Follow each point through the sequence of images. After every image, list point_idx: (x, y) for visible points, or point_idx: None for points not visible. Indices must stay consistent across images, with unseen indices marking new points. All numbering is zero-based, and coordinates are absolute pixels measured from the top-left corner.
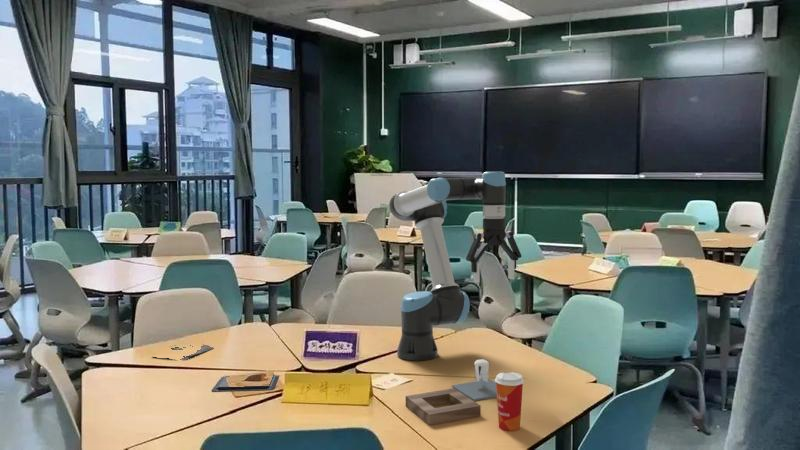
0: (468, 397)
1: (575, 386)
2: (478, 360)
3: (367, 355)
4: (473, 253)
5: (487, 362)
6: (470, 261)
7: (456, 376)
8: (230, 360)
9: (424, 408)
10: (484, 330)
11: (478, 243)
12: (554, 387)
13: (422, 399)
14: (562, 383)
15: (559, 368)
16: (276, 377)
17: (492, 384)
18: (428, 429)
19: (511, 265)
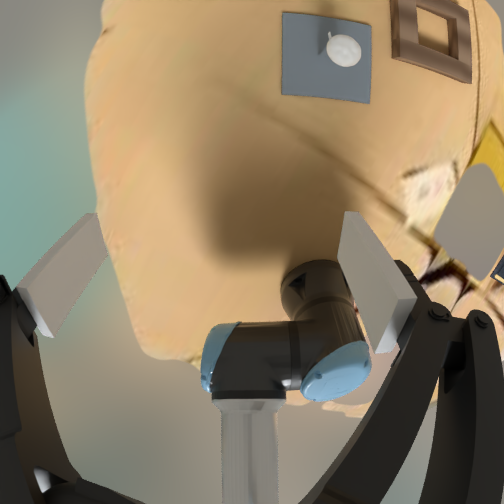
0: (370, 42)
1: (142, 14)
2: (353, 53)
3: None
4: (492, 371)
5: (336, 38)
6: (463, 320)
7: (327, 151)
8: None
9: (467, 28)
10: (145, 348)
11: (481, 495)
12: (181, 17)
13: (459, 54)
14: (152, 32)
15: (106, 115)
16: (498, 267)
17: (295, 64)
18: (462, 6)
19: (54, 274)
